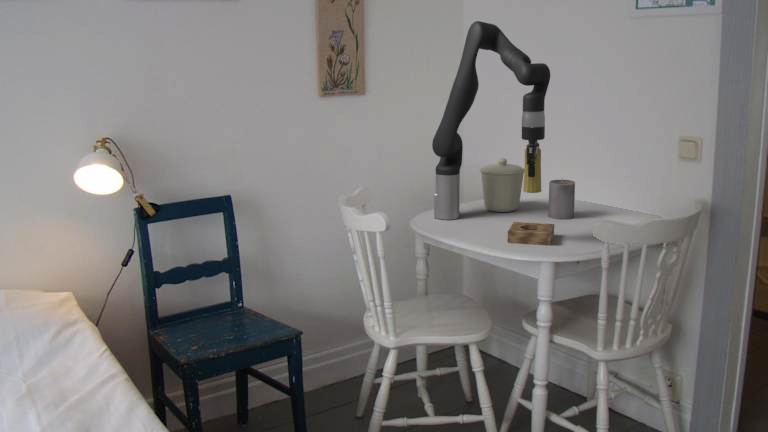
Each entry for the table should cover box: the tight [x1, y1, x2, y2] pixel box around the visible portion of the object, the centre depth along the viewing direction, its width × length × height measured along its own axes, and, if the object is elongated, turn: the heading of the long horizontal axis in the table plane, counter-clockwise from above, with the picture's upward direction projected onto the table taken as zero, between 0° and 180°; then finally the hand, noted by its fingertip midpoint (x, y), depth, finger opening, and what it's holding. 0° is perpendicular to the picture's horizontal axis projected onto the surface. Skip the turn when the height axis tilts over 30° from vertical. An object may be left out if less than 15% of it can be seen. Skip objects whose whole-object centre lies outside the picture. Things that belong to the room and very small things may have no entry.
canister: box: [479, 157, 524, 213], centre depth 295 cm, size 18×18×21 cm
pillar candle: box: [547, 178, 576, 220], centre depth 282 cm, size 10×10×15 cm
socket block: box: [507, 221, 555, 246], centre depth 251 cm, size 14×14×4 cm
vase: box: [522, 148, 543, 194], centre depth 247 cm, size 6×6×14 cm
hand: (532, 175), depth 247 cm, fingers closed on vase, 5 cm apart
